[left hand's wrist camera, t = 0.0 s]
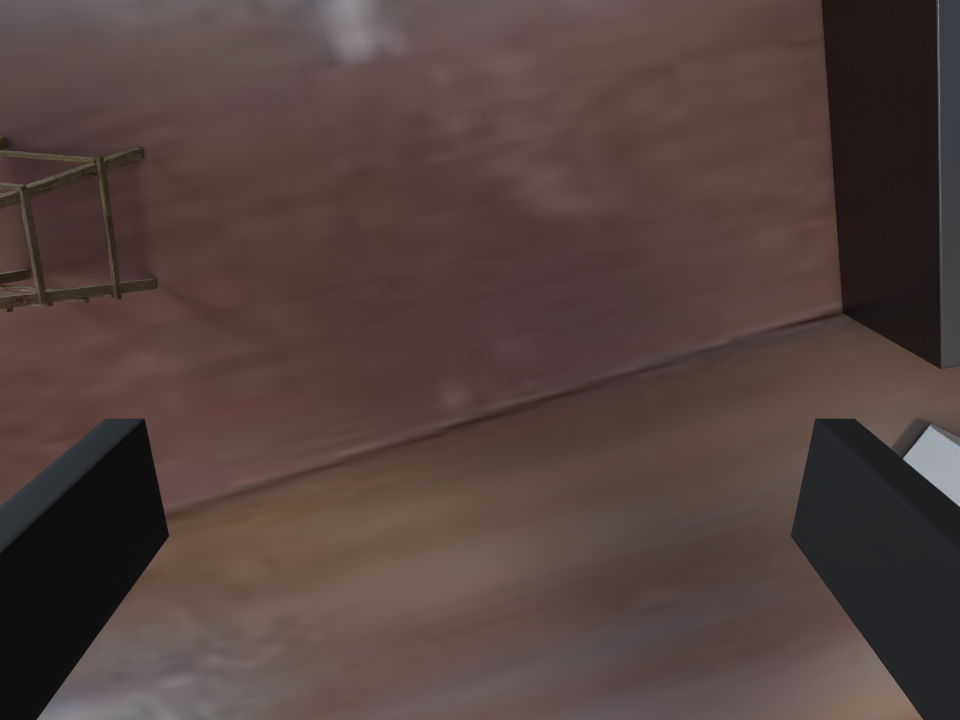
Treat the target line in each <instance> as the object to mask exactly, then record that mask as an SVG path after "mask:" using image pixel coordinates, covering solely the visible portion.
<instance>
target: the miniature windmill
mask: <svg viewBox="0 0 960 720" xmlns="http://www.w3.org/2000/svg"><path fill="white" fill-rule="evenodd" d="M4 148H6V143H5V138H4V137H0V156H6V157H19V158H31V159H44V160H56V161H69V162H81V163H88V164H85V165H82V166H79V167H76V168H73V169H70V170H68V171H65V172H62V173H59V174H56V175H53V176H50V177H47V178H44V179H42V180H39V181H36V182H33V183H30V184H27V185H22V184H9V183H0V190H10V191H7V192H4V193H1V194H0V209H2V208H5V207H8V206H10V205H13V204H16V203H19V202H20V204H21V210H22V215H23V221H24V227H25V233H26V238H27V244H28V250H29V255H30V261H31V267H32V273H33V278H34V284H35V288H34V287H20V286H7V285H0V289H3V290H16V291H29V292H34V293H26V294H23V293H9V292H0V312H12V311H13V307H18V306H26V305H31V306H47V307H48V306H53V302H56V301H67V302H81V303H87V302H89V298H87V297H95V296H97V297H110V298H113V297H114V299H122V296H121V293H126V292H133V291H141V290H149V289H156V282H155V279H144V280H136V281H127V282H120V280H119V272H118V264H117V256H116V248H115V241H114V233H113V225H112V217H111V209H110V201H109V193H108V185H107V177H106V171H109V170H112V169H114V168H117V167H120V166H123V165H126V164H129V163H131V162H134V161H137V160H140V159H143V158H142V151H141V148H137V147H134V148H131V149H128V150H125V151H122V152H119V153H117V154H114V155H111V156H108V157H105V158H104V157H96V158H95V157H82V156H70V155H57V154H45V153H33V152H20V151H8V150H2V149H4ZM95 175H98V179H99V187H100V194H101V202H102V210H103V217H104V225H105V233H106V240H107V248H108V256H109V263H110V271H111V279H112V283H110V284H102V285H93V286H85V287H76V288H68V289H47V288H45V284H44V278H43V272H42V266H41V260H40V254H39V248H38V243H37V237H36V231H35V225H34V219H33V213H32V207H31V201H30V198H33V197H36V196H39V195H41V194H44V193H47V192H50V191H53V190H55V189H58V188H61V187H64V186H67V185H69V184H72V183H75V182H78V181H81V180H84V179H86V178H89V177H92V176H95ZM26 279H29V272H28V269H20V270H14V271H9V272H3V273H0V284H4V283H9V282H15V281H21V280H26Z"/></svg>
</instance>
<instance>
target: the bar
mask: <svg viewBox="0 0 960 720" xmlns="http://www.w3.org/2000/svg"><path fill="white" fill-rule="evenodd" d="M822 5H823V20H824V35H825V49H826V64H827V79H828V93H829V108H830V123H831V137H832V152H833V167H834V181H835V196H836V211H837V225H838V240H839V255H840V270H841V284H842V299H843V313H844V314H845V315H847V316H849V317H850V318H852V319H854V320H856V321H857V322H859V323H861V324H863V325H864V326H866V327H868V328H870V329H871V330H873V331H875V332H877V333H878V334H880V335H882V336H884V337H885V338H887V339H889V340H891V341H892V342H894V343H896V344H898V345H899V346H901V347H903V348H905V349H906V350H908V351H910V352H912V353H913V354H915V355H917V356H919V357H920V358H922V359H924V360H926V361H927V362H929V363H931V364H933V365H934V366H936V367H938V368H940V369H946V368H950V367H955V366H959V365H960V0H822Z"/></svg>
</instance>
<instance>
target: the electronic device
mask: <svg viewBox="0 0 960 720" xmlns="http://www.w3.org/2000/svg"><path fill="white" fill-rule="evenodd" d="M903 460H905V461H906V462H907V463H908V464H909V465H910V466H912V467H913V468H914V469H915V470H916V471H918V472H919V473H920V474H921V475H922V476H924V477H925V478H926V479H927V480H928V481H930V482H931V483H932V484H933V485H934V486H936V487H937V488H938V489H939V490H940V491H942V492H943V493H944V494H945V495H946V496H948V497H949V498H950V499H951V500H952V501H954V502H955V503H956V504H957V505H958V506H960V437H958V436H956V435H954V434H952V433H950V432H948V431H945V430H943V429H941V428H939V427H937V426H935V425H933V424H930V426H929V427H928V428H927V429H926V431H925V432H924V433H923V434H922V436H921V437H920V438H919V439H918V441H917V442H916V443H915V444H914V446H913V447H912V448H911V449H910V451H909V452H908V453H907V454H906V456H905V457H904V458H903Z"/></svg>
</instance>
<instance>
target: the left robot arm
mask: <svg viewBox="0 0 960 720" xmlns="http://www.w3.org/2000/svg"><path fill="white" fill-rule="evenodd" d="M168 537H169V534H168V529H167V524H166V519H165V514H164V510H163V505H162V500H161V495H160V490H159V486H158V481H157V476H156V471H155V466H154V462H153V457H152V452H151V447H150V442H149V438H148V433H147V428H146V423H145V419H105V420H103V421H102V422H101V423H100V424H99V425H97V426H96V427H95V428H94V429H93V430H91V431H90V432H89V433H88V434H87V435H85V436H84V437H83V438H82V439H81V440H79V441H78V442H77V443H76V444H75V445H73V446H72V447H71V448H70V449H69V450H67V451H66V452H65V453H64V454H63V455H61V456H60V457H59V458H58V459H57V460H55V461H54V462H53V463H52V464H51V465H50V466H48V467H47V468H46V469H45V470H44V471H42V472H41V473H40V474H39V475H38V476H36V477H35V478H34V479H33V480H32V481H30V482H29V483H28V484H27V485H26V486H24V487H23V488H22V489H21V490H20V491H18V492H17V493H16V494H15V495H14V496H12V497H11V498H10V499H9V500H8V501H6V502H5V503H4V504H3V505H2V506H0V720H37V718H38V717H39V716H40V714H41V713H42V711H43V710H44V709H45V707H46V706H47V704H48V703H49V702H50V700H51V699H52V698H53V696H54V695H55V693H56V692H57V691H58V689H59V688H60V686H61V685H62V684H63V682H64V681H65V680H66V678H67V677H68V675H69V674H70V673H71V671H72V670H73V668H74V667H75V666H76V664H77V663H78V662H79V660H80V659H81V657H82V656H83V655H84V653H85V652H86V650H87V649H88V648H89V646H90V645H91V644H92V642H93V641H94V639H95V638H96V637H97V635H98V634H99V632H100V631H101V630H102V628H103V627H104V626H105V624H106V623H107V621H108V620H109V619H110V617H111V616H112V614H113V613H114V612H115V610H116V609H117V608H118V606H119V605H120V603H121V602H122V601H123V599H124V598H125V596H126V595H127V594H128V592H129V591H130V590H131V588H132V587H133V585H134V584H135V583H136V581H137V580H138V578H139V577H140V576H141V574H142V573H143V572H144V570H145V569H146V567H147V566H148V565H149V563H150V562H151V560H152V559H153V558H154V556H155V555H156V554H157V552H158V551H159V549H160V548H161V547H162V545H163V544H164V542H165V541H166V540H167V538H168ZM791 537H792V538H793V540H794V541H795V542H796V544H797V545H798V547H799V548H800V549H801V551H802V552H803V554H804V555H805V556H806V558H807V559H808V560H809V562H810V563H811V565H812V566H813V567H814V569H815V570H816V572H817V573H818V574H819V576H820V577H821V578H822V580H823V581H824V583H825V584H826V585H827V587H828V588H829V590H830V591H831V592H832V594H833V595H834V596H835V598H836V599H837V601H838V602H839V603H840V605H841V606H842V608H843V609H844V610H845V612H846V613H847V614H848V616H849V617H850V619H851V620H852V621H853V623H854V624H855V626H856V627H857V628H858V630H859V631H860V632H861V634H862V635H863V637H864V638H865V639H866V641H867V642H868V644H869V645H870V646H871V648H872V649H873V650H874V652H875V653H876V655H877V656H878V657H879V659H880V660H881V662H882V663H883V664H884V666H885V667H886V668H887V670H888V671H889V673H890V674H891V675H892V677H893V678H894V680H895V681H896V682H897V684H898V685H899V686H900V688H901V689H902V691H903V692H904V693H905V695H906V696H907V698H908V699H909V700H910V702H911V703H912V704H913V706H914V707H915V709H916V710H917V711H918V713H919V714H920V716H921V717H922V718H923V720H960V506H958V505H957V504H956V503H955V502H954V501H952V500H951V499H950V498H949V497H948V496H946V495H945V494H944V493H943V492H942V491H940V490H939V489H938V488H937V487H936V486H934V485H933V484H932V483H931V482H930V481H928V480H927V479H926V478H925V477H924V476H922V475H921V474H920V473H919V472H918V471H916V470H915V469H914V468H913V467H912V466H910V465H909V464H908V463H907V462H906V461H905V460H903V459H902V458H901V457H900V456H899V455H897V454H896V453H895V452H894V451H893V450H891V449H890V448H889V447H888V446H887V445H885V444H884V443H883V442H882V441H881V440H879V439H878V438H877V437H876V436H875V435H873V434H872V433H871V432H870V431H869V430H867V429H866V428H865V427H864V426H863V425H861V424H860V423H859V422H858V421H857V420H855V419H815V423H814V428H813V433H812V438H811V442H810V447H809V452H808V457H807V462H806V466H805V471H804V476H803V481H802V486H801V490H800V495H799V500H798V505H797V510H796V514H795V519H794V524H793V529H792V534H791Z"/></svg>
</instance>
